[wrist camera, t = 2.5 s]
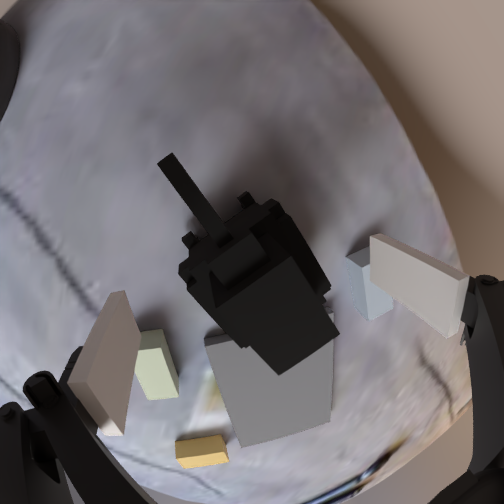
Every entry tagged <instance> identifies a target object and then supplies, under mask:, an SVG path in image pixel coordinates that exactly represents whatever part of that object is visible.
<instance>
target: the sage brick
mask: <svg viewBox="0 0 504 504" xmlns="http://www.w3.org/2000/svg"><path fill="white" fill-rule="evenodd" d="M140 333H141V336H142V337H141V341H140V346H139V350H138V355H137V360H136V365H135V370H134V371H135V373H136V375H137V377H138V380H139V382H140V384H141V386H142V388H143V390H144V392H145V394H146V396H147V398H148V400H156V399H166V398H174V397H179V381H178V375H177V372H176V369H175V366H174V363H173V360H172V357H171V354H170V351H169V348H168V345H167V342H166V339H165V335H164V332H163V329H157V330H150V331H142V332H140Z"/></svg>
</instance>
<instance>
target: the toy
mask: <svg viewBox="0 0 504 504" xmlns="http://www.w3.org/2000/svg"><path fill="white" fill-rule="evenodd" d="M157 165H158V166H159V167H160V169H161V170H162V172H163V173H164V174H165V176H166V177H167V178H168V180H169V181H170V183H171V184H172V185H173V187H174V188H175V189H176V191H177V192H178V193H179V195H180V196H181V198H182V199H183V200H184V202H185V203H186V204H187V206H188V207H189V208H190V210H191V211H192V212H193V214H194V215H195V216H196V218H197V219H198V220H199V222H200V223H201V224H202V226H203V227H204V228H205V230H206V231H207V232H208V234H209V235H208V236H207V237H205V238H204V239H202V240H201V241H200V240H199V238H198V237H195V236H194V234H193V233H192V232H191V231H190V232H189V233H187V234H186V235H185V236H183V237H182V242H183V243H184V244H185V246H186V247H187V248H188V249H189V257H188V258H187V259H186V260H184V261H183V262H182V263H180V264H179V272H178V274H179V275H180V277H181V278H182V279H183V280H184V281H185V283H186V284H187V291H188V292H189V293H190V294H191V295H192V296H193V297H194V299H195V300H196V301H197V302H198V303H199V304H200V305H201V306H202V307H203V309H204V310H205V311H206V312H207V313H208V314H209V315H210V316H211V317H212V318H213V319H214V321H215V322H216V323H217V324H218V325H219V326H220V327H221V328H222V329H223V330H224V331H225V332H226V333H227V334H228V335H229V337H230V338H231V339H232V340H233V341H234V342H235V343H236V344H237V345H238V346H239V347H240V348H241V349H242V348H243V347H245V348H247V347H249V346H250V347H251V348H252V349H253V350H254V351H255V352H256V353H257V354H258V355H259V356H260V357H261V358H262V359H263V360H264V362H265V363H266V364H267V365H268V366H269V367H270V368H271V369H272V370H273V371H274V372H275V373H276V374H277V375H278V376H279V375H281V374H283V373H284V372H286V371H287V370H289V369H290V368H292V367H293V366H295V365H296V364H298V363H299V362H301V361H302V360H304V359H305V358H307V357H308V356H310V355H311V354H313V353H314V352H316V351H317V350H319V349H320V348H321V347H323V346H324V345H326V344H327V343H328V342H330V341H331V340H333V339H334V338H335V337H337V336H338V335H339V334H340V333H339V331H338V330H337V328H336V327H335V325H334V323H333V322H332V320H331V318H330V317H329V315H328V313H327V312H326V310H325V309H324V307H323V305H322V304H324V303H325V302H327V301H326V299H325V298H324V296H323V295H324V294H325V293H327V292H328V291H329V290H331V288H330V287H331V284H330V282H329V280H328V279H327V277H326V275H325V273H324V272H323V270H322V268H321V267H320V265H319V263H318V261H317V260H316V258H315V256H314V255H313V253H312V251H311V249H310V248H309V246H308V244H307V243H306V241H305V239H304V238H303V236H302V234H301V233H300V231H299V229H298V228H297V226H296V225H295V223H294V221H293V220H292V218H291V216H289V215H288V214H286V213H285V211H284V210H283V208H282V207H281V205H280V203H279V202H277V201H275V200H273V199H270V200H268V201H267V202H265V203H264V204H263V205H259V204H258V203H256V202H255V201H254V199H253V198H252V196H251V195H250V193H249V192H247V191H246V192H245V193H243V194H242V195H240V196H239V197H237V198H238V199H239V201H240V202H241V204H242V206H243V208H244V210H243V211H241V212H240V213H239V214H237V215H236V216H234V217H233V218H232V219H230V220H229V221H227V222H226V223H225V224H224V223H223V222H222V220H221V219H220V218H219V216H218V215H217V213H216V212H215V211H214V209H213V208H212V206H211V205H210V204H209V202H208V201H207V200H206V198H205V197H204V195H203V194H202V193H201V191H200V190H199V189H198V187H197V186H196V184H195V183H194V182H193V180H192V179H191V177H190V176H189V175H188V173H187V172H186V171H185V169H184V168H183V166H182V165H181V164H180V162H179V161H178V159H177V158H176V157H175V155H174V154H173V153H170V154H169V155H168V156H166V157H165V158H164V159H162V160H161V161H160V162H158V163H157Z"/></svg>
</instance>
